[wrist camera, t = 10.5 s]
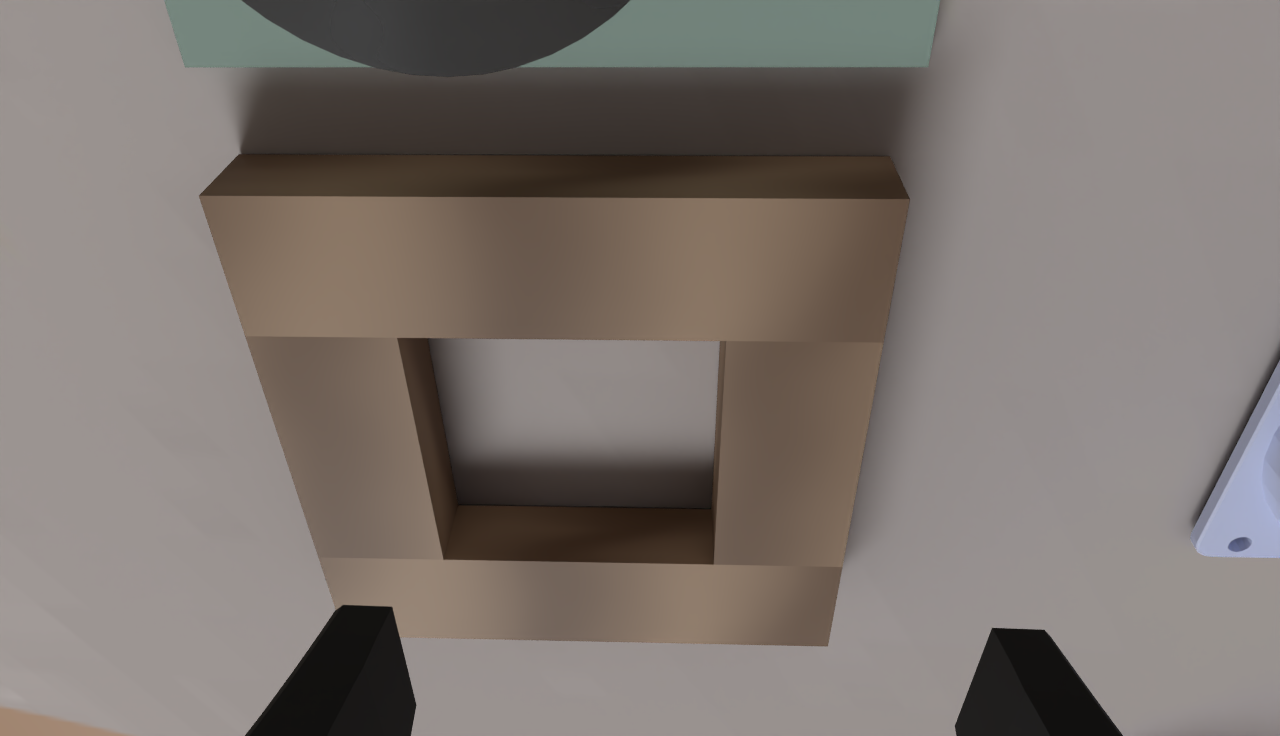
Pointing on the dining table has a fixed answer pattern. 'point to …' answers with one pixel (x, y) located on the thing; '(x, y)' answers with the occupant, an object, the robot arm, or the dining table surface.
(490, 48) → the metal cylinder
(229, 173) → the collar
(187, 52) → the mat
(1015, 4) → the dining table surface
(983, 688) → the robot arm
